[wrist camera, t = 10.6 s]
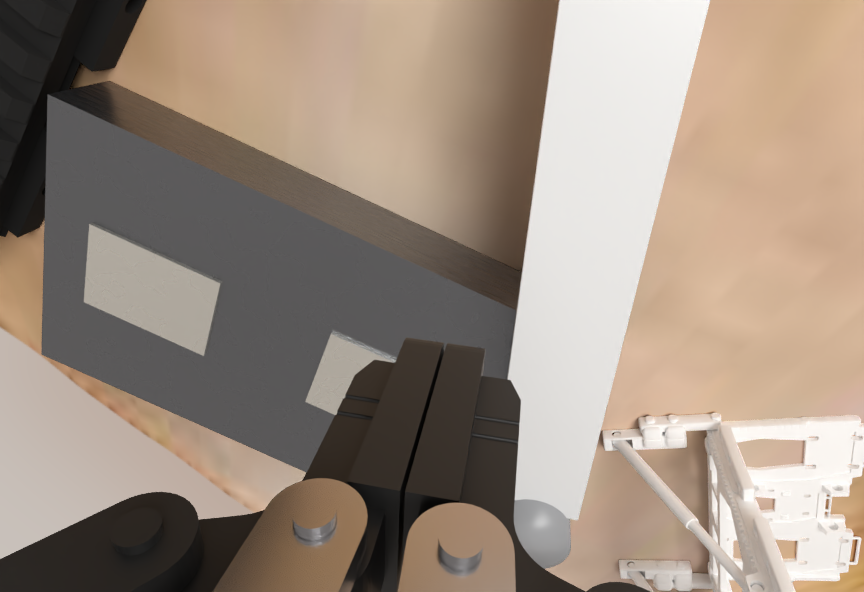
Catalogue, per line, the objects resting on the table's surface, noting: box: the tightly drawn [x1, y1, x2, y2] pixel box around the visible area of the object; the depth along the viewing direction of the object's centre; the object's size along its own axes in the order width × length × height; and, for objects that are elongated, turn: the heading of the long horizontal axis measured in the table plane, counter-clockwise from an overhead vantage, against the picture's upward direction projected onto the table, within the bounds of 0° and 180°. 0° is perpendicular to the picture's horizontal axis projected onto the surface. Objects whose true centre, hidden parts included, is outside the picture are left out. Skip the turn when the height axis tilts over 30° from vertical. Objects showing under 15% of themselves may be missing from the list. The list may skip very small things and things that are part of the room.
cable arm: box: [507, 0, 710, 569], centre depth 22 cm, size 28×4×4 cm, turn 177°
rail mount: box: [0, 0, 146, 237], centre depth 27 cm, size 21×6×5 cm, turn 139°
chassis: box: [42, 81, 522, 472], centre depth 31 cm, size 30×16×4 cm, turn 68°
